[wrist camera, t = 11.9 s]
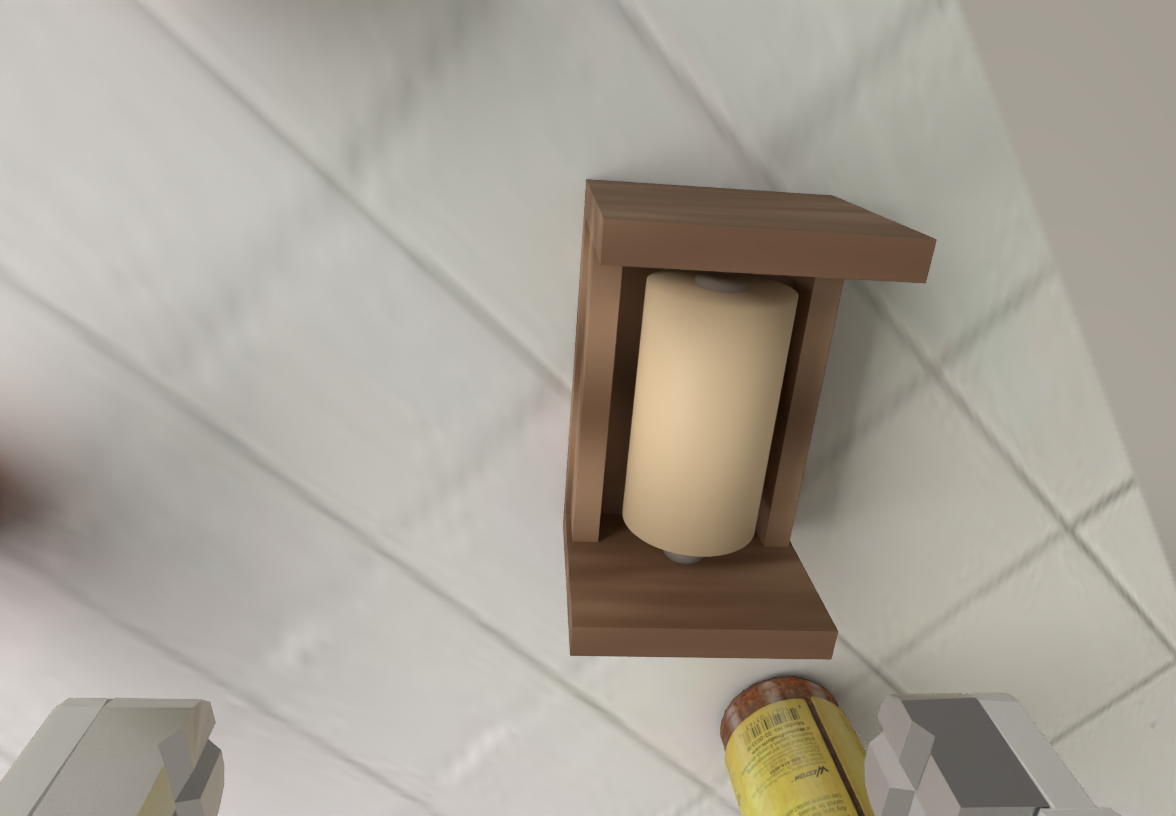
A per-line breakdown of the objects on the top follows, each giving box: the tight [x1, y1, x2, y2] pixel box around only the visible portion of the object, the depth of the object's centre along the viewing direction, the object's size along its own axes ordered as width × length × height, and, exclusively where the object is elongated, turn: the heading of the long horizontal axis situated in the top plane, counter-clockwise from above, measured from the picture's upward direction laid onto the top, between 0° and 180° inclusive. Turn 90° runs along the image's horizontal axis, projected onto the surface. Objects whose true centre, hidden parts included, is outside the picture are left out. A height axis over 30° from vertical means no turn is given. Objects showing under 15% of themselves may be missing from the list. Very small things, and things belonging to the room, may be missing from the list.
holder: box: [563, 179, 937, 659], centre depth 27 cm, size 14×9×8 cm, turn 176°
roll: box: [622, 269, 798, 557], centre depth 27 cm, size 9×5×5 cm, turn 176°
